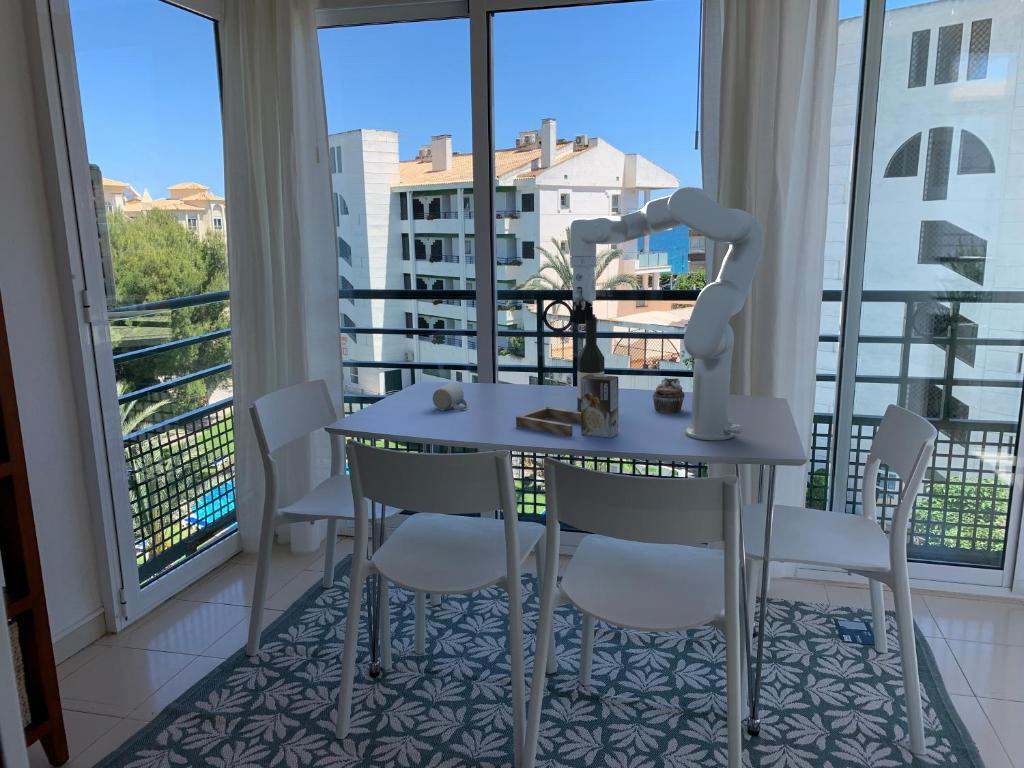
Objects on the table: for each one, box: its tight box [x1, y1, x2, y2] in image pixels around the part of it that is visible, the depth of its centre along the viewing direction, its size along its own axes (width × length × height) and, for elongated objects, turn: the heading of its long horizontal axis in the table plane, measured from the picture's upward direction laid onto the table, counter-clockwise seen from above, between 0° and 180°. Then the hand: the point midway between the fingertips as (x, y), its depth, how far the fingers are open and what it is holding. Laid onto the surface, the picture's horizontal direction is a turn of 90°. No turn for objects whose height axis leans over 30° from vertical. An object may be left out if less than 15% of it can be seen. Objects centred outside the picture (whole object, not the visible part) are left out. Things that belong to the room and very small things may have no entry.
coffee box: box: [580, 374, 619, 439], centre depth 204 cm, size 9×6×16 cm
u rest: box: [515, 406, 581, 437], centre depth 214 cm, size 18×15×3 cm
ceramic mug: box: [432, 382, 469, 411], centre depth 237 cm, size 11×8×8 cm
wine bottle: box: [576, 313, 605, 412], centre depth 230 cm, size 8×8×30 cm
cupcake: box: [652, 377, 685, 414], centre depth 229 cm, size 10×10×10 cm
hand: (583, 321), depth 217 cm, fingers open, 9 cm apart
